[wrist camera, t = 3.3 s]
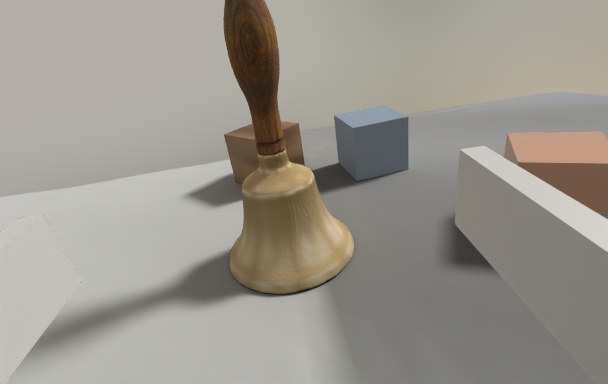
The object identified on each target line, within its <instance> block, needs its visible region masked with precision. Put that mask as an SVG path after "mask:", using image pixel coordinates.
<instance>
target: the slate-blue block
mask: <svg viewBox="0 0 608 384" xmlns="http://www.w3.org/2000/svg"><path fill="white" fill-rule="evenodd" d="M334 119H335V129H336V140H337V150H338V160H339V164H340V165H341V166H342V167H343V168H344V169H345V170H346V171H347V172H348V173H349V174H350V175H351V176H352V177H353V178H354V179H355V180H356V181H361V180H365V179H369V178H373V177H378V176H382V175H386V174H390V173H395V172H399V171H403V170H407V169H408V116H406V115H403V114H401V113H399V112H396V111H394V110H392V109H389V108H387V107H384V106H378V107H374V108H368V109H363V110H358V111H353V112H349V113H343V114H339V115H334Z"/></svg>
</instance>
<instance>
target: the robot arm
mask: <svg viewBox="0 0 608 384" xmlns="http://www.w3.org/2000/svg"><path fill="white" fill-rule="evenodd" d="M455 225H456V226H457V227H458V228H459V229H460V230H461V232H462V233H463V234H464V235H465V236H466V237H467V238H468V240H469V241H470V242H471V243H472V244H473V245H474V246H475V248H476V249H477V250H478V251H479V252H480V253H481V254H482V255H483V257H484V258H485V259H486V260H487V261H488V262H489V263H490V265H491V266H492V267H493V268H494V269H495V270H496V271H497V272H498V274H499V275H500V276H501V277H502V278H503V279H504V280H505V282H506V283H507V284H508V285H509V286H510V287H511V288H512V289H513V291H514V292H515V293H516V294H517V295H518V296H519V297H520V299H521V300H522V301H523V302H524V303H525V304H526V305H527V306H528V308H529V309H530V310H531V311H532V312H533V313H534V314H535V316H536V317H537V318H538V319H539V320H540V321H541V322H542V323H543V325H544V326H545V327H546V328H547V329H548V330H549V331H550V333H551V334H552V335H553V336H554V337H555V338H556V339H557V340H558V342H559V343H560V344H561V345H562V346H563V347H564V348H565V350H566V351H567V352H568V353H569V354H570V355H571V356H572V357H573V359H574V360H575V361H576V362H577V363H578V364H579V365H580V367H581V368H582V369H583V370H584V371H585V372H586V373H587V374H588V376H589V377H590V378H591V379H592V380H593V381H594V382H595V384H608V215H607V214H604V213H601V214H598V213H596V212H595V211H593V210H591V209H590V208H588V207H586V206H584V205H583V204H581V203H579V202H578V201H576V200H574V199H573V198H571V197H569V196H568V195H566V194H564V193H563V192H561V191H559V190H558V189H556V188H554V187H553V186H551V185H549V184H547V183H546V182H544V181H542V180H541V179H539V178H537V177H536V176H534V175H532V174H531V173H529V172H527V171H526V170H524V169H522V168H521V167H519V166H517V165H516V164H514V163H512V162H511V161H509V160H507V159H505V158H504V157H502V156H500V155H499V154H497V153H495V152H494V151H492V150H490V149H489V148H487V147H485V146H479V147H473V148H466V149H460V154H459V169H458V184H457V198H456V213H455ZM80 284H81V280H80V278H79V276H78V275H77V273H76V271H75V269H74V267H73V266H72V264H71V262H70V260H69V258H68V257H67V255H66V253H65V251H64V249H63V247H62V246H61V244H60V242H59V240H58V238H57V237H56V235H55V233H54V231H53V229H52V228H51V226H50V224H49V222H48V220H47V218H46V217H45V215H44V214H41V215H35V216H29V217H22V218H19V219H18V220H16V221H15V222H14V223H12V224H11V225H10V226H8V227H7V228H6V229H4V230H3V231H2V232H1V233H0V384H5V383H6V382H7V380H8V379H9V378H10V376H11V375H12V374H13V372H14V371H15V370H16V368H17V367H18V366H19V364H20V363H21V362H22V360H23V359H24V358H25V357H26V355H27V354H28V353H29V351H30V350H31V349H32V347H33V346H34V345H35V343H36V342H37V341H38V339H39V338H40V337H41V335H42V334H43V333H44V331H45V330H46V329H47V327H48V326H49V325H50V323H51V322H52V321H53V319H54V318H55V317H56V315H57V314H58V313H59V311H60V310H61V309H62V307H63V306H64V305H65V303H66V302H67V301H68V299H69V298H70V297H71V295H72V294H73V293H74V291H75V290H76V289H77V287H78V286H79V285H80Z"/></svg>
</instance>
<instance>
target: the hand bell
mask: <svg viewBox="0 0 608 384" xmlns="http://www.w3.org/2000/svg"><path fill="white" fill-rule="evenodd" d="M224 34H225V41H226V46H227V51H228V55H229V59H230V63H231V66H232V69H233V71H234V75H235V77H236V79H237V81H238V83H239V86H240V88H241V90H242V91H243V93H244V95H245V97H246V100H247V102H248V105H249V108H250V112H251V116H252V123H253V129H254V135H255V140H256V142H257V143H256V149H257V152H258V160H259V168H258V169H257V170H256V171H255V172H253V173H251V174H250V175H249V176H248V177H247V178H245V180H244V182H243V184H242V197H243V208H244V224H243V230H242V233H241V235H240V237H239V238H238V239H237V241H236V242H235V244H234V246H233V248H232V250H231V254H230V259H229V267H230V270H231V273H232V275H233V276H234V277H235V279H236V280H237V281H238V282H239V283H241V284H242V285H244V286H246V287H248V288H250V289H252V290H256V291H259V292H264V293H274V294H284V293H291V292H298V291H301V290H305V289H308V288H313V287H315V286H317V285H320V284H322V283H324V282H326V281H327V280H329V279H331V278H333V277H334V276H336V275H337V274H338V273H339V272H340V271H341V270H342V269H343V268H344V267H345V266H346V265H347V263H348V262H349V261H350V259H351V257H352V255H353V251H354V240H353V237H352V234H351V233H350V231H349V230H348V229H347V227H346V226H345V225H344V224H343V223H342V222H340V221H339V220H337V219H336V218H334V217H332V216H331V215H330V214H329V212H328V211H327V209H326V208H325V206H324V204H323V202H322V199H321V197H320V194H319V191H318V188H317V184H316V181H315V177H314V174H313V172H312V171H311V170H310V169H309V168H308V167H306V166H304V165H300V164H295V163H292V162H290V161H289V160H288V156H287V152H286V149H285V148H286V143H285V139H284V138H283V130H282V125H281V121H280V116H279V111H278V103H277V91H278V82H279V50H278V43H277V37H276V32H275V27H274V24H273V20H272V17H271V15H270V12H269V10H268V8H267V5H266V3H265V1H264V0H225V8H224Z"/></svg>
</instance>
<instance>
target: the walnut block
mask: <svg viewBox="0 0 608 384" xmlns="http://www.w3.org/2000/svg"><path fill="white" fill-rule="evenodd" d="M281 125H282V130H283V138H284V139H285V143H286V148H285V149H286V152H287V156H288V160H289V161H290V162H292V163H295V164H300V165H304V166H305V164H304V157H303V150H302V143H301V136H300V129H299V124H298V123H290V122H281ZM224 137H225V141H226V144H227V148H228V152H229V157H230V161H231V165H232V169H233V173H234V177H235V181H236V182H238V183H241V184H243V182H244V180H245V178H247V177H248V176H249V175H250V174H251V173H253V172H255V171H256V170H257V169H258V168H259V160H258V152H257V149H256V143H257V142H256V140H255V135H254V129H253V124H250V125H248V126H245V127H242V128H240V129H237V130H235V131H232V132H230V133H227V134H224Z"/></svg>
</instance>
